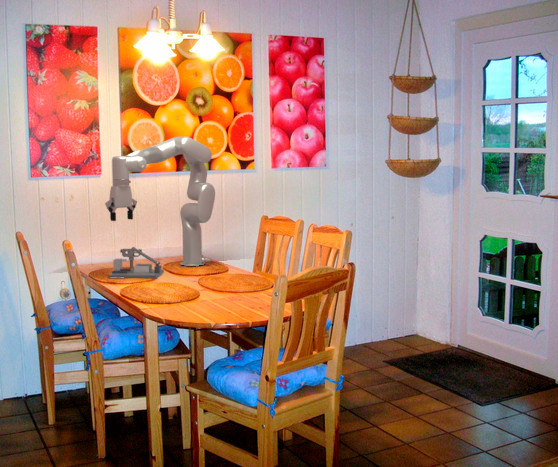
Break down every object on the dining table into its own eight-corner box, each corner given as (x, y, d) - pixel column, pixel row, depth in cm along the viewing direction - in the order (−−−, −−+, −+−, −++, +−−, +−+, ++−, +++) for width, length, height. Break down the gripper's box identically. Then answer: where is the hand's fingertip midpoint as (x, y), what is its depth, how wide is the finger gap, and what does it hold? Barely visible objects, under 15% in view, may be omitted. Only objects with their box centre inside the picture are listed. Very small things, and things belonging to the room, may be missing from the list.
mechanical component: (141, 269, 338) (140, 249, 337) (120, 269, 338) (119, 249, 337) (142, 268, 341) (142, 248, 340) (122, 268, 341) (121, 248, 340)
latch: (127, 270, 325) (127, 258, 324) (125, 272, 321) (124, 259, 320) (116, 270, 325) (115, 258, 324) (113, 272, 321) (113, 259, 320)
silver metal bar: (159, 265, 323) (160, 262, 323) (157, 266, 320) (159, 263, 320) (132, 248, 323) (134, 245, 323) (130, 249, 320) (132, 246, 319)
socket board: (164, 272, 330) (164, 263, 329) (156, 278, 314) (156, 268, 314) (118, 272, 331) (118, 262, 330) (108, 278, 315) (108, 268, 315)
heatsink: (152, 271, 326) (152, 263, 325) (148, 273, 319) (148, 266, 318) (137, 270, 326) (137, 263, 325) (133, 273, 319) (133, 266, 318)
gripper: (130, 182, 327) (131, 218, 329) (100, 183, 314) (101, 221, 316) (140, 182, 322) (141, 219, 324) (110, 184, 309) (111, 222, 311)
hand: (121, 220), depth 320 cm, fingers open, 9 cm apart
